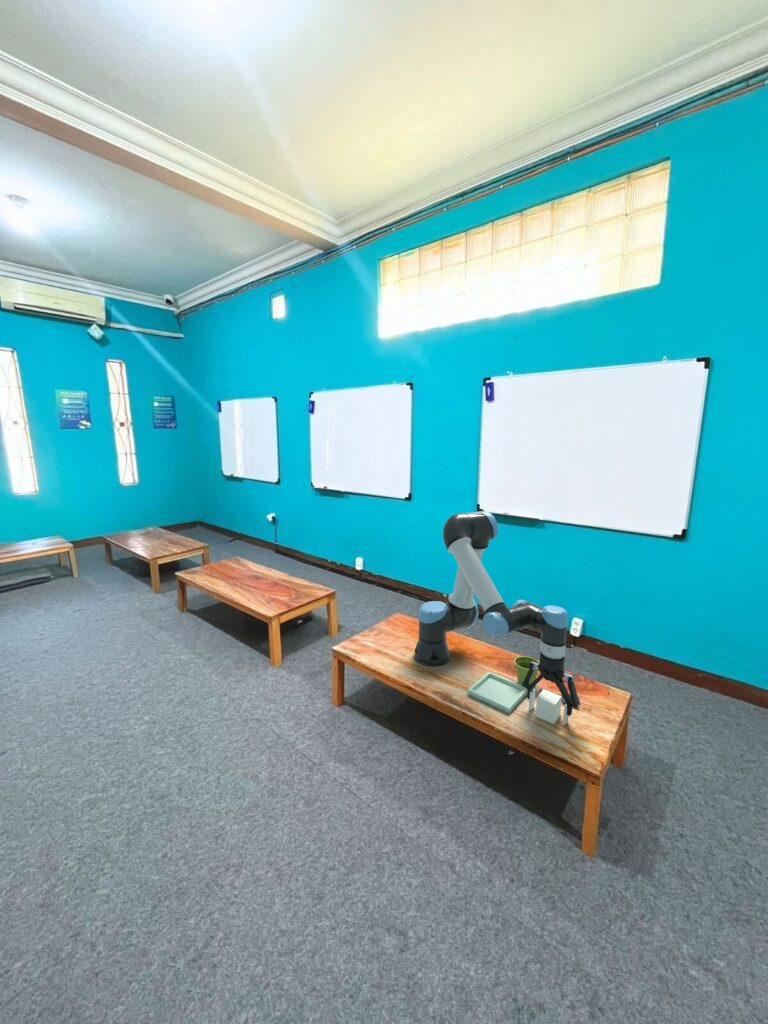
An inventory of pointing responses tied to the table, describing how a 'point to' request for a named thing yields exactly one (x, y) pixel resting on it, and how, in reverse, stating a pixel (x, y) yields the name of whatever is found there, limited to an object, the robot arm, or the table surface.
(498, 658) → the table surface
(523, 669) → the plant pot
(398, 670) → the table surface
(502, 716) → the table surface
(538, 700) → the block
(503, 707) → the tray
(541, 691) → the scoop
